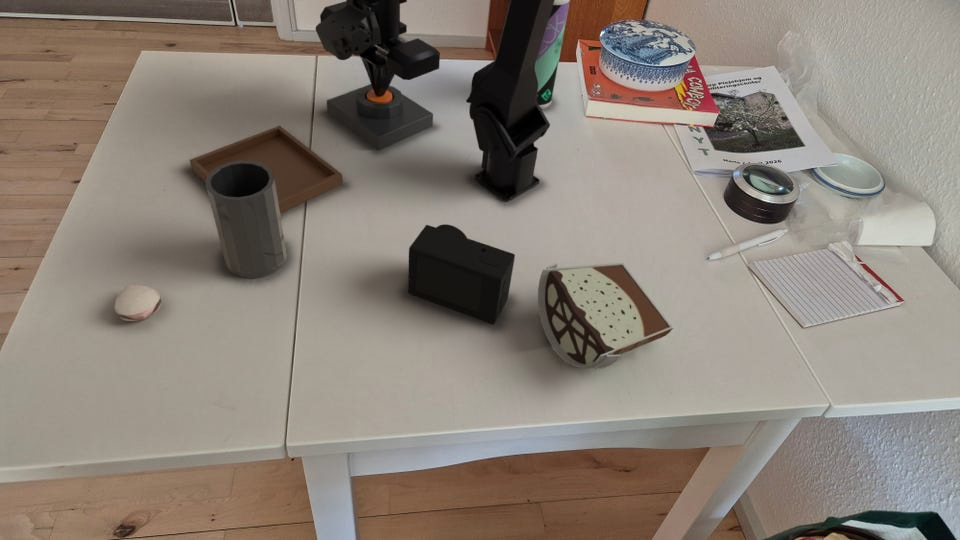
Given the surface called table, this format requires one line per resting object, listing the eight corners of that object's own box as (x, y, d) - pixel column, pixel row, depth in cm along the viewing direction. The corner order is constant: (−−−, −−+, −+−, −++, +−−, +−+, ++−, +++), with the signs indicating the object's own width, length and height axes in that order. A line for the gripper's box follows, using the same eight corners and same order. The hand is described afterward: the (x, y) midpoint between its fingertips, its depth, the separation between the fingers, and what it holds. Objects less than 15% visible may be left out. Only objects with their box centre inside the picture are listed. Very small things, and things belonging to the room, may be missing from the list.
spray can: (513, 91, 107) (531, -37, 93) (546, 90, 108) (568, -37, 94) (521, 109, 103) (540, -22, 89) (555, 108, 104) (579, -21, 90)
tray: (342, 184, 86) (342, 173, 85) (251, 226, 79) (249, 215, 78) (281, 135, 93) (279, 125, 92) (191, 170, 86) (189, 159, 85)
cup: (297, 260, 76) (286, 182, 68) (245, 287, 72) (227, 208, 65) (265, 230, 79) (251, 153, 71) (214, 255, 75) (193, 176, 68)
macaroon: (124, 332, 67) (117, 315, 65) (110, 300, 69) (102, 283, 68) (168, 315, 69) (162, 298, 67) (153, 285, 71) (146, 268, 70)
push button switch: (432, 126, 98) (433, 102, 95) (379, 150, 92) (378, 125, 90) (381, 92, 103) (380, 69, 101) (327, 113, 98) (325, 89, 95)
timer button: (397, 107, 96) (397, 96, 95) (377, 115, 94) (377, 104, 93) (381, 96, 98) (381, 86, 97) (362, 104, 96) (361, 93, 95)
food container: (594, 290, 77) (522, 304, 73) (615, 252, 73) (540, 265, 69) (655, 375, 71) (579, 397, 66) (682, 339, 66) (603, 360, 62)
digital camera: (512, 292, 75) (520, 246, 70) (495, 325, 71) (502, 279, 67) (428, 263, 77) (431, 216, 72) (408, 293, 74) (408, 247, 69)
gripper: (280, -27, 84) (293, 85, 95) (372, 28, 75) (376, 144, 86) (351, -44, 90) (357, 63, 101) (445, 5, 81) (439, 116, 92)
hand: (379, 95), depth 95 cm, fingers closed, pressing on timer button
